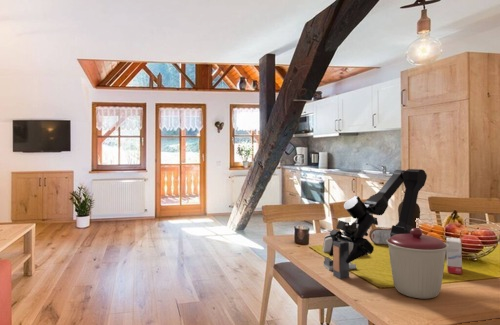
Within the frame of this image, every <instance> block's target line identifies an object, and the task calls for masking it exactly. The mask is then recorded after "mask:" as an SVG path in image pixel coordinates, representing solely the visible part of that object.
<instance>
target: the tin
mask: <svg viewBox="0 0 500 325" xmlns="http://www.w3.org/2000/svg"><path fill="white" fill-rule="evenodd" d="M391 229H392V227H384V226H383V227H381V226H376V227H373V228H371V230H370V231H369V233H368V237H369V240H370V241H371V242H372V243H373V244H375V245H378V246H379V245H382V246H389V245H388V243H387V242H386V240H387V239H388V238H390V237H391V235H390V233H391Z"/></svg>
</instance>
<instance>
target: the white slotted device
mask: <svg viewBox="0 0 500 325" xmlns="http://www.w3.org/2000/svg"><path fill="white" fill-rule="evenodd" d="M342 234H343V235H344V236H345V234H344V233H343V232H342ZM323 238H324V239H323V244H322V253H330V250H331V247H332V242H333V241H332V238H331V235H330V233H329V234H326V235H325V236H324V237H323ZM352 249H353V244H351V243H349V254H350V253H351V251H352Z"/></svg>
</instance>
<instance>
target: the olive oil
mask: <svg viewBox="0 0 500 325" xmlns="http://www.w3.org/2000/svg"><path fill="white" fill-rule="evenodd" d="M402 204H403V200H402V201H401V202H400V203H399V204H398V207H397V214H398V219H399V218H400V213H401V208H402ZM420 216H421V209H420V206H419V204H418V203H417V202H416V207H415V211H414V216H413V221H412V228H416V222H415V220H416V218H419V219H420V218H421V217H420Z"/></svg>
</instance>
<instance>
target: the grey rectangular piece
mask: <svg viewBox="0 0 500 325" xmlns="http://www.w3.org/2000/svg"><path fill="white" fill-rule="evenodd" d="M323 266H324V267H325V268H326V269H327V270H328V271H329V272H331V271H333V259H331V258H330V257H329V256H324V260H323ZM356 269H357V264H356V263H352V262H350V263H349V270H356Z"/></svg>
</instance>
